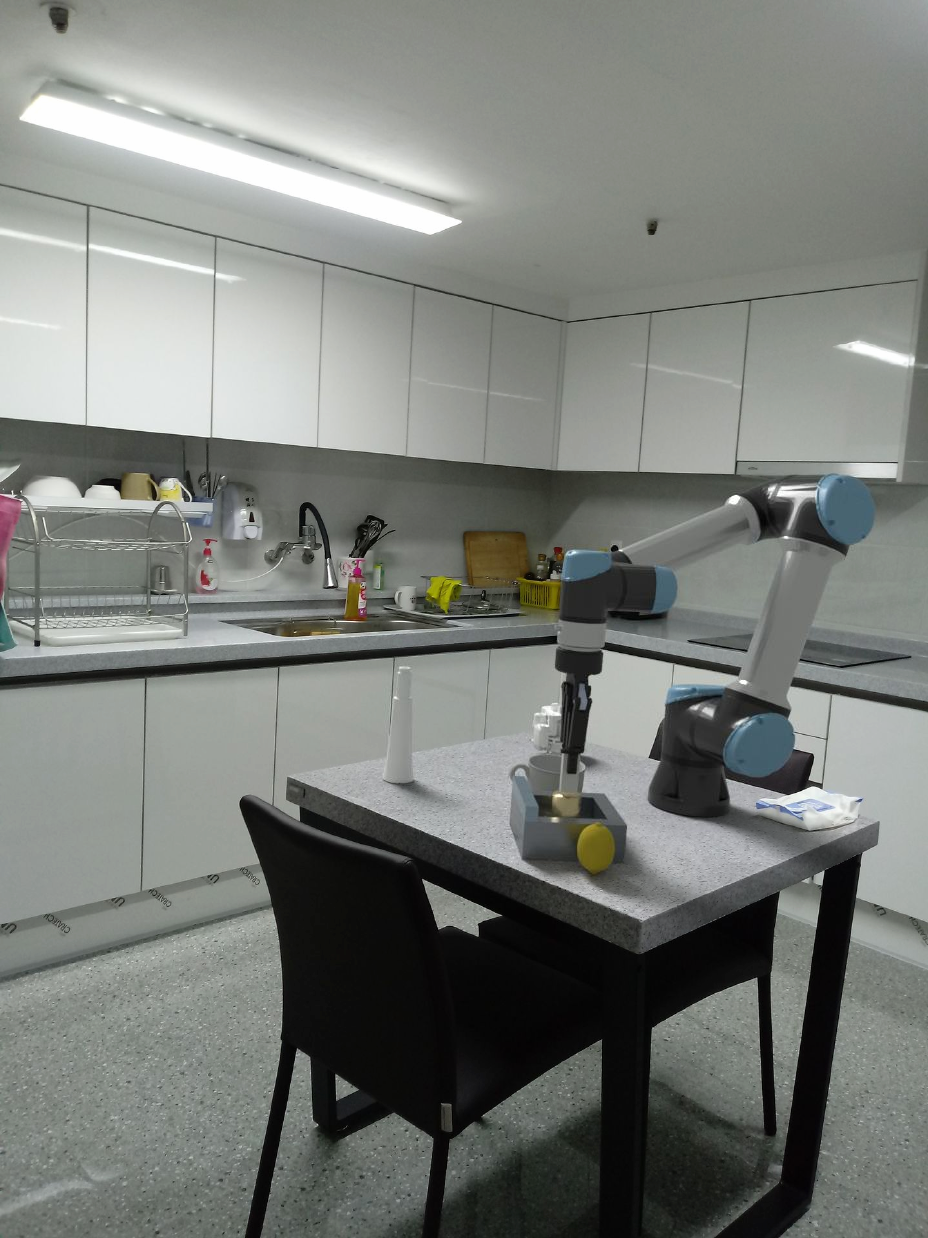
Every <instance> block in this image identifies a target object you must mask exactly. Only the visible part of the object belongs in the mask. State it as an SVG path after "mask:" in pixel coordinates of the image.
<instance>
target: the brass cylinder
mask: <svg viewBox="0 0 928 1238" xmlns="http://www.w3.org/2000/svg"><path fill="white" fill-rule="evenodd" d="M580 807H581V795H580V794H579V793H566V792H560V791H555V792H553V799H552V812H551V817H559V818H580Z"/></svg>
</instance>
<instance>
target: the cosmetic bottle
mask: <svg viewBox="0 0 928 1238" xmlns="http://www.w3.org/2000/svg"><path fill="white" fill-rule="evenodd" d="M398 670H399V671H398V672H397V673H396V688H395V690H396V691H395V696H393V701H392V708H391V716H390V717H391V718H390V727H389V737H388V744H387V745H388V746H387V752H386V758H385V759H386V760H385V764H384V770H383V774H382V780H384V781H385V782H387V783H392V784H399V783H400V784H401V783H402V784H409V783H412V782H413V781H414V778H415V777H414V770H413V769H414V768H413V697H411V694H412V693H411V690H412V689H411V688H412V672H411V667H409V666H399V667H398Z"/></svg>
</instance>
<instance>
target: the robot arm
mask: <svg viewBox="0 0 928 1238" xmlns="http://www.w3.org/2000/svg"><path fill="white" fill-rule="evenodd" d="M875 505H876V504H875V501H874V499H873V498H872V492H871V491H870V489H869V488H868V487H867V485H866V484H865V483H864V481H862V480H861V479H859V478H857V477H855V476H853V475H849V474H848V475H847V474H838V473H833V472H832V473H828V474H788V475H783V476H779V477H776V478H772V479H770V480H767V481H765V482H762V483H760V484H758V485H756V486H753V487H751V488H748V489H745V490H744V491H741V492H739V493H736V494H734V495H732V496H730V497H729V498H727V500H726V501H725V503H724V505H723V506H719V507H717V508H716V509H712V510H711V511H708V512H706V513H703V514H701V515H698V516H696V517H694V518H692V519H688V520H687V521H684V522H682V523H680V524H677V525H674V526H672V527H671V528H667V529H665V530H663V531H661V532H658V533H655V534H653V535H651V536H649V537H647V538H644V539H642V540H639V541H637V542H634V543H632V544H630V545H627V546H625V547H623V548H620V549H618V550H615V551H613V552H608V551H601V550H588V549H571V550H568V551H566V553H565V555H564V558H563V562H562V563H563V564H562V570H561V575H560V580H561V581H560V582H561V583H560V584H561V585H560V595H559V596H560V597H559V608H558V609H559V612H558V614H559V615H558V624H557V625H554V628H553V629H554V631H555V632H557V637H556V638H557V640H556V642H557V643H558V645H559V646H557V648H556V649H555V658H554V669H555V670H556V671H557V672H559V673H563V674H566V676H565V680H564V681H563V682H561V686H560V688H561V706H562V711H561V737H560V742H561V743H562V749H560V751H561V753H560V754H561V755H562V760H561V773H560V785H559V790H560V792H566V793H577V790H578V778H579V766H580V762H581V754H584V752H585V751H586V749H585V746H586V742H587V732H588V725H589V719H590V713H591V712H590V711H591V709H592V704H593V699H592V697H591V694H592V685H589V684H590V683H589V682H590V681H589V677H590V676H596V675H600V674H601V673H602V670H603V662H604V652H603V651H602V649H603V648H604V647H605V642H606V632H607V631H606V630H607V616H608V612H615V611H617V612H636V613H638V612H639V613H649V614H653V613H663V612H667V611H668V610H670V609H671V608H672V607H673V605H674V604H675V602H676V599H677V596H678V589H679V588H678V586H679V585H678V579H677V577H676V575H675V573H674V572H677V571H680V570H682V569H684V568H686V567H688V566H691V565H693V564H696V563H698V562H700V561H702V560H705V559H707V558H710V557H711V556H715V555H716V554H719V553H720V552H724V551H726V550H728V549H730V548H733V547H735V546H737V545H739V544H742V545H745V546H750V545H754V544H755V543H758V542H761V541H765V540H771V539H777V542H778V544H779V546H780V548H781V551H782V553H781V556H780V559H779V563H778V565H777V566H776V567H777V568H776V571H775V573H774V576H773V579H772V582H771V584H770V587H769V590H768V592H767V596H766V598H765V602H764V603H763V606H762V610H761V613H760V616H759V619H758V622H757V624H756V627H755V630H754V632H753V635H752V637H751V641H750V643H749V646H748V648H747V652H746V654H745V657H744V660H743V664H742V666H741V669H740V671H739V674H738V677H737V679H736V680H735V681H733V682H731V683H729V684H726V685H716V684H701V683H700V684H698V683H697V684H695V683H689V684H688V683H687V684H686V683H685V684H683V683H682V684H673V685H671V686H670V687H669V688H668V690H667V692H666V693H667V694H666V699H665V703H664V707H665V709H664V719H663V721H664V722H663V729H662V730H663V732H662V742H661V755H660V761H659V763H658V766H657V768H656V770H655V772H654V774H653V776H652V779H651V781H650V784H649V786H648V791H647V801H648V802H649V803H650V804H651V805H652V806H655V807H656V808H657V809H658V808H659V809H661V810H664V811H666V812H670V813H674V814H678V815H683V816H690V817H700V818H701V817H705V818H707V817H709V818H710V817H719V816H723V815H725V814H727V813H729V811H730V805H731V804H730V803H731V796H730V792H729V791H730V790H729V787H728V783H727V778H726V774H725V769H724V767H725V768H727V769H729V770H730V771H732V772H734V773H737V774H739V775H745V776H747V777H751V778H765V777H767V776H770V775H771V774H773V773H775V772H777V771H779V770H780V769H781V768H783V766H784V765H785V764H786V763H787V762H788V760H789V758H791V755H792V753H793V751H794V749H795V743H796V734H795V733H794V731H795V729H794V726H793V724H792V723H791V722H790V720H789V718H790V715H791V712H792V708H793V707H792V706H791V704H790V702H789V700H788V697H787V695H788V693H789V690H790V687H791V684H792V682H793V679H794V676H795V673H796V671H797V667H798V666H799V662H800V659H801V656H802V653H803V651H804V647H805V645H806V643H807V639H808V637H809V634H810V631H811V627H812V626H813V623H814V621H815V617H816V614H817V612H818V609H819V605H820V603H821V600H822V597H823V594H824V592H825V589H826V586H827V584H828V580H829V578H830V575H831V572H832V570H833V567H834V566H836V565H838V564H841V563H842V562H844V561H845V560H846V558H847V555H848V552H849V549H850V547H851V546H854V545H855V544H858V543H861V542H862V540H865V539H866V538H868V536H869V534H870V533H871V531H872V529H873V527H874V524H875V517H876V506H875ZM585 741H586V742H585Z"/></svg>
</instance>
